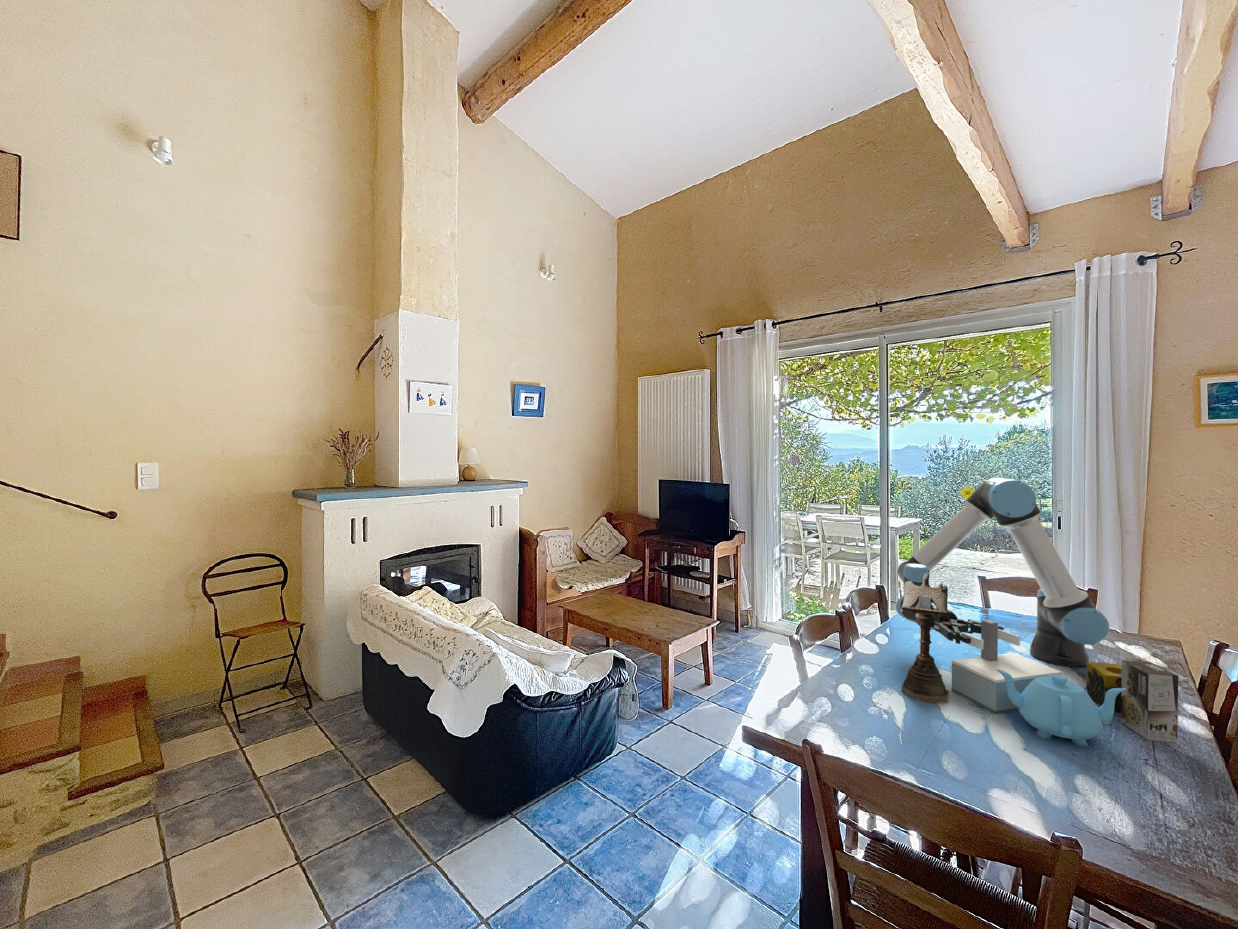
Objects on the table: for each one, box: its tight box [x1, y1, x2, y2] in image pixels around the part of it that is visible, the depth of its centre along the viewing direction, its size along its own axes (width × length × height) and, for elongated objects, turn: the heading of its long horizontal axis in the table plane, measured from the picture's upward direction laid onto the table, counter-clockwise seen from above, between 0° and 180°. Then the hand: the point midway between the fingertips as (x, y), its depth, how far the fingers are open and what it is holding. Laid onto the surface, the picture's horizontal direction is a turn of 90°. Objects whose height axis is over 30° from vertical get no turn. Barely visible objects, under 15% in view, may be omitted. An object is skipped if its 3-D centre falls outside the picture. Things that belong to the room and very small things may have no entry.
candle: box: [1085, 661, 1122, 714], centre depth 144 cm, size 10×10×10 cm
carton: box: [951, 662, 1035, 715], centre depth 149 cm, size 22×14×8 cm, turn 103°
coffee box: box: [1120, 660, 1179, 744], centre depth 130 cm, size 9×6×16 cm
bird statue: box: [900, 572, 955, 704], centre depth 149 cm, size 17×13×35 cm
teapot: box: [996, 669, 1126, 747], centre depth 130 cm, size 16×20×14 cm
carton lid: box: [951, 619, 1063, 683], centre depth 149 cm, size 22×14×12 cm, turn 103°
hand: (1000, 643), depth 150 cm, fingers open, 12 cm apart
